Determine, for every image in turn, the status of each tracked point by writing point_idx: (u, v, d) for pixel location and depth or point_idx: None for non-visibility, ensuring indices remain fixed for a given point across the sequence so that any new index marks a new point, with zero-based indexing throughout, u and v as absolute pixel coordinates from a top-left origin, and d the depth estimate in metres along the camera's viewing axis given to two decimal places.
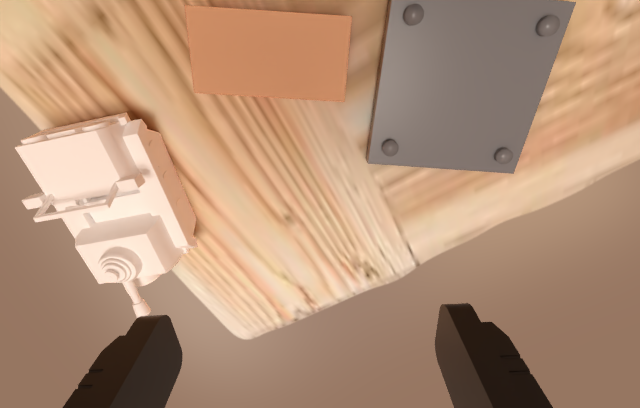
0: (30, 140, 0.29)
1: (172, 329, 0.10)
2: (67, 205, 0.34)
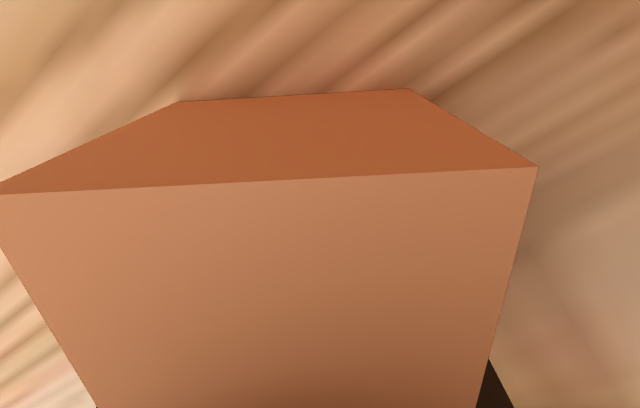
0: None
1: None
2: None
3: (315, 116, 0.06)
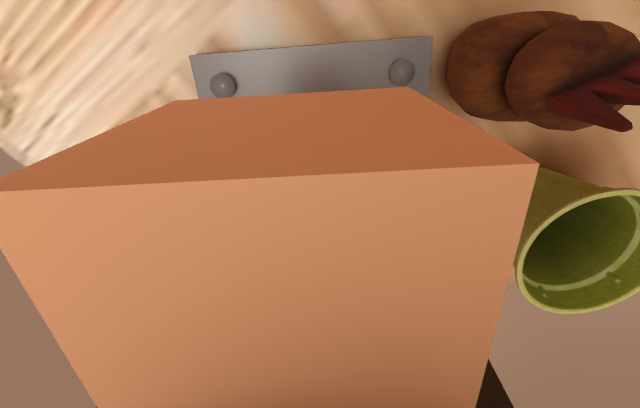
0: None
1: None
2: None
3: (315, 114, 0.06)
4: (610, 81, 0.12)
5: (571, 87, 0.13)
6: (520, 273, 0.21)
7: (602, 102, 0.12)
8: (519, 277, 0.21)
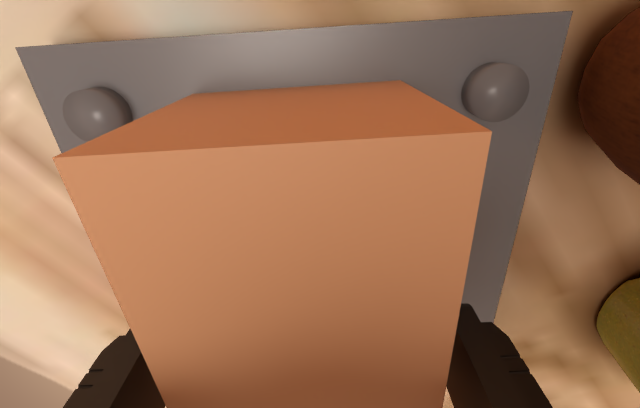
0: None
1: None
2: None
3: (318, 102, 0.08)
4: None
5: None
6: None
7: None
8: None
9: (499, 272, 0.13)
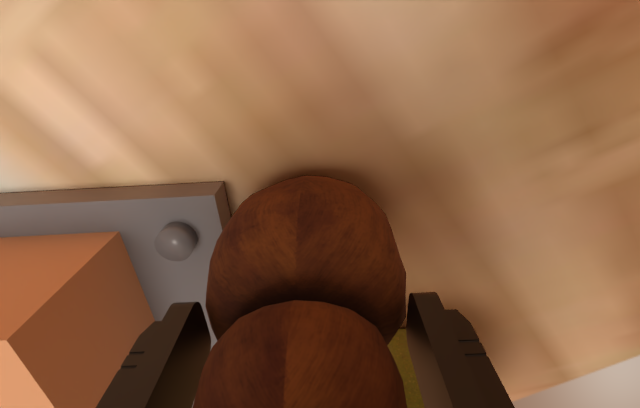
0: None
1: (203, 316, 0.10)
2: None
3: (14, 274, 0.12)
4: None
5: None
6: None
7: None
8: None
9: None
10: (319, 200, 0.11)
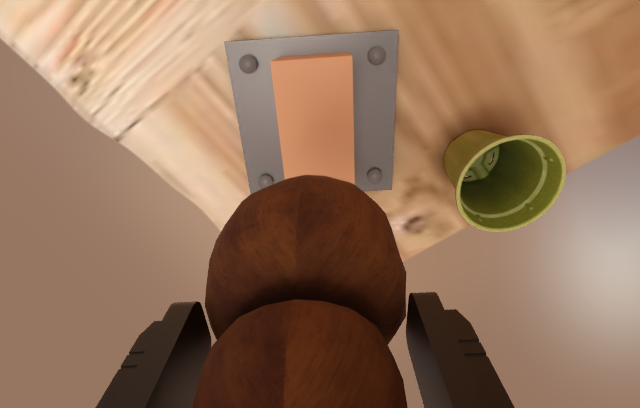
0: None
1: (203, 316, 0.10)
2: None
3: (320, 55, 0.28)
4: None
5: None
6: (458, 198, 0.30)
7: None
8: (458, 201, 0.30)
9: (391, 130, 0.34)
10: (319, 199, 0.11)
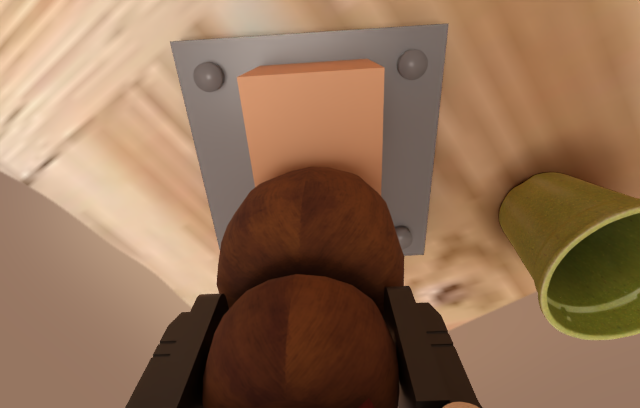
0: None
1: (227, 307, 0.10)
2: None
3: (325, 65, 0.17)
4: None
5: None
6: (544, 295, 0.18)
7: None
8: (543, 299, 0.18)
9: (428, 174, 0.23)
10: (323, 187, 0.12)
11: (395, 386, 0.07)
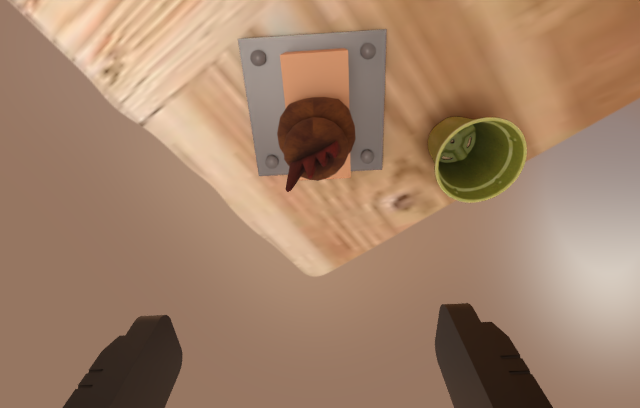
0: None
1: (172, 329, 0.10)
2: None
3: (321, 50, 0.33)
4: (311, 158, 0.23)
5: (300, 158, 0.24)
6: (437, 172, 0.35)
7: (296, 172, 0.22)
8: (436, 175, 0.35)
9: (381, 116, 0.39)
10: (321, 99, 0.28)
11: (345, 144, 0.24)
